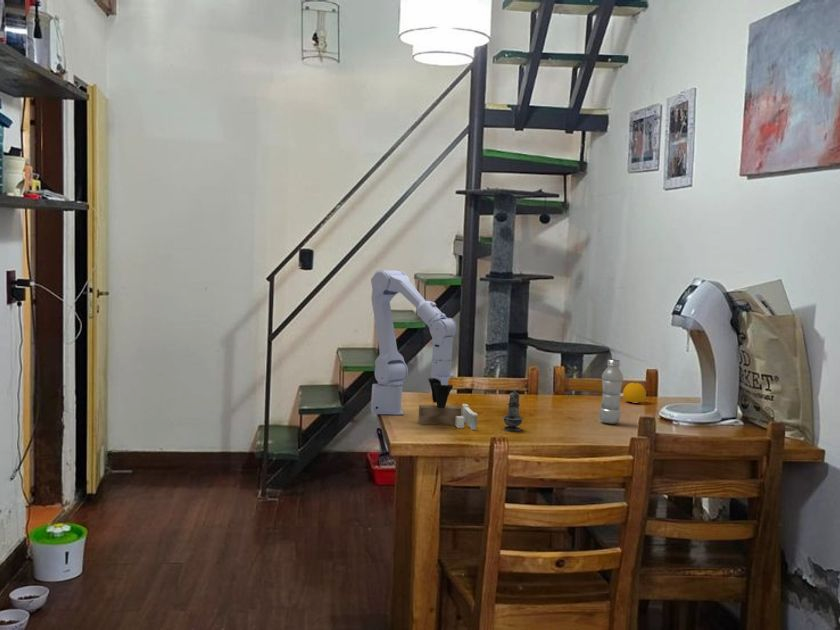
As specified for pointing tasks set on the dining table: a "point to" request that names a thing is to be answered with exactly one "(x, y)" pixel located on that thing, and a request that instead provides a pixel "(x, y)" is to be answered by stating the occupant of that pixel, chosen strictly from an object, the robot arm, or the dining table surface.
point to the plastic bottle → (611, 393)
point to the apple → (634, 392)
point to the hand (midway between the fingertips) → (438, 405)
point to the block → (438, 414)
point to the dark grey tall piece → (513, 413)
